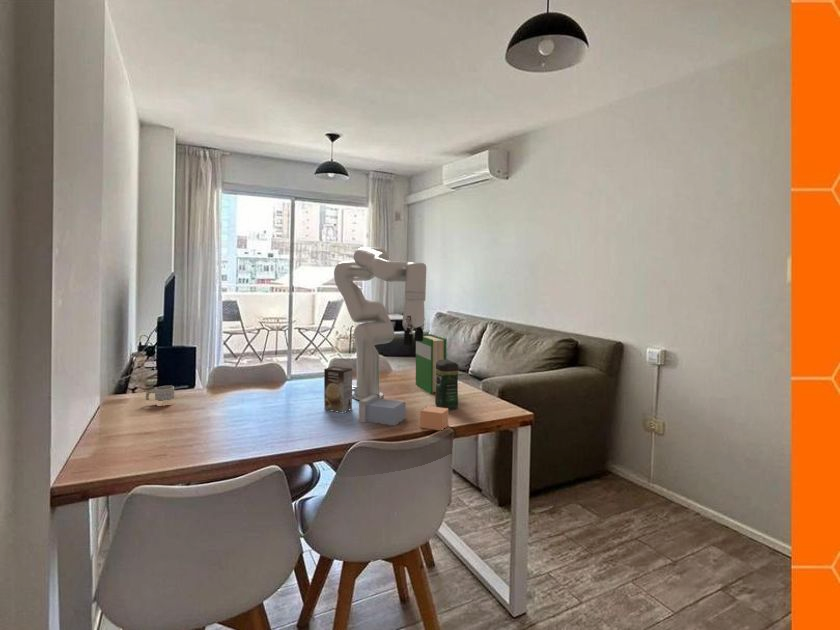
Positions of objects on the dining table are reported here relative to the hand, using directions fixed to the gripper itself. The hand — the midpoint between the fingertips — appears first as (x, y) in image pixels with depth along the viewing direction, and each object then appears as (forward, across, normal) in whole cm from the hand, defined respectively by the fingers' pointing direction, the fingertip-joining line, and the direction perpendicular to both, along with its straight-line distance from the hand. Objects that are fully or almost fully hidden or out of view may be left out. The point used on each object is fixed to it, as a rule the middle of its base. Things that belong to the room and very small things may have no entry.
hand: (413, 342), depth 168 cm
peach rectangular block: (+26, +11, +13) cm, 31 cm away
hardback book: (+28, -37, -7) cm, 47 cm away
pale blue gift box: (+27, +11, -6) cm, 30 cm away
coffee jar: (+27, -13, +10) cm, 31 cm away
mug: (+30, +30, -95) cm, 104 cm away
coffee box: (+28, +8, -27) cm, 40 cm away
